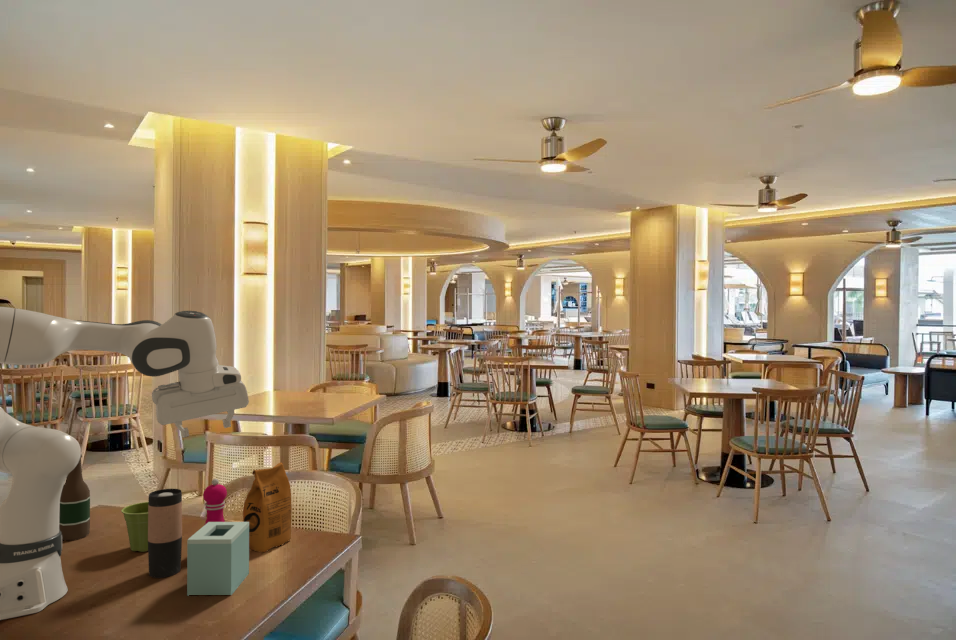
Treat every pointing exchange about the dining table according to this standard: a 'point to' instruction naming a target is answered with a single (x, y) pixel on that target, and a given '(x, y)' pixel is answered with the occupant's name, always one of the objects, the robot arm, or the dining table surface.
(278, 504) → the coffee package
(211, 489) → the pepper mill
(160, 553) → the travel mug
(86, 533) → the beer bottle
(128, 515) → the plant pot
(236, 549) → the box
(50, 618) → the dining table surface
